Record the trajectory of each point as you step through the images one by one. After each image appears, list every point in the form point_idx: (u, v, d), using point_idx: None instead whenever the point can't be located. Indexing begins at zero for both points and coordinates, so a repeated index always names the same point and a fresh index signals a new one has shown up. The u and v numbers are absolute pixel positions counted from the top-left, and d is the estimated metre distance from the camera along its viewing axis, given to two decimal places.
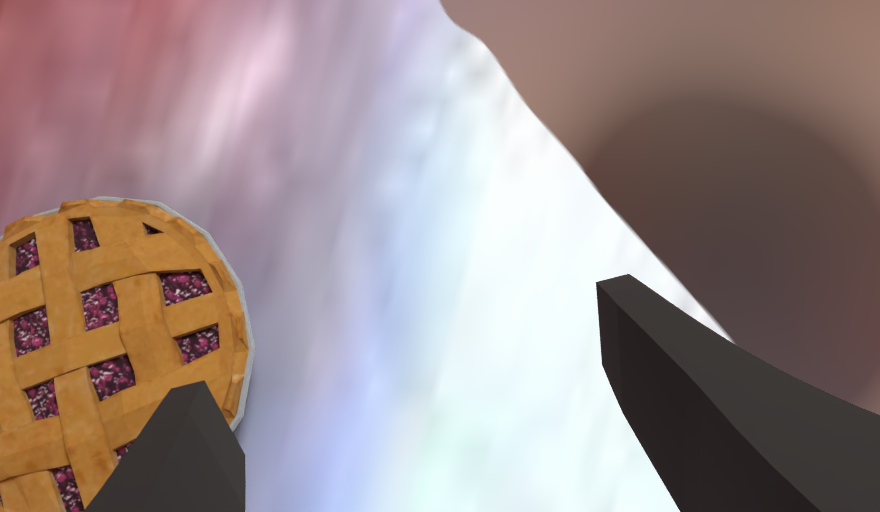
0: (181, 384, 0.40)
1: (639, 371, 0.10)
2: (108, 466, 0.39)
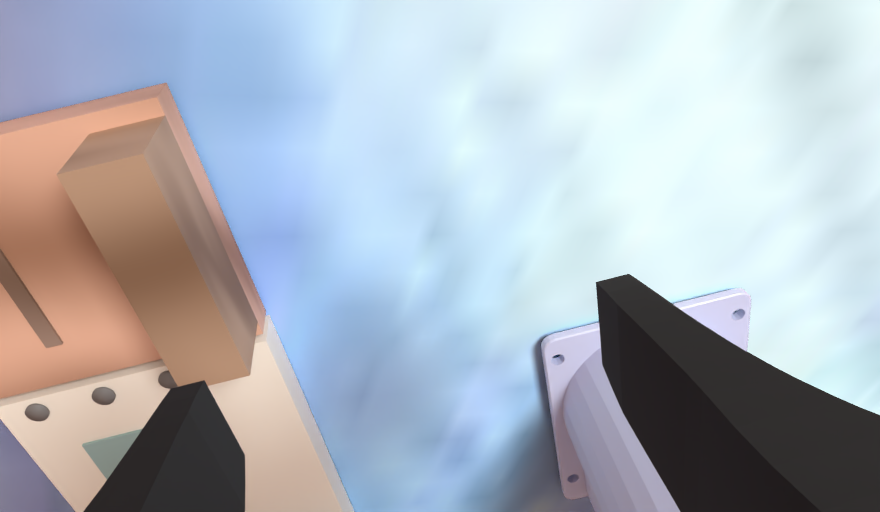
0: None
1: (639, 371, 0.10)
2: None
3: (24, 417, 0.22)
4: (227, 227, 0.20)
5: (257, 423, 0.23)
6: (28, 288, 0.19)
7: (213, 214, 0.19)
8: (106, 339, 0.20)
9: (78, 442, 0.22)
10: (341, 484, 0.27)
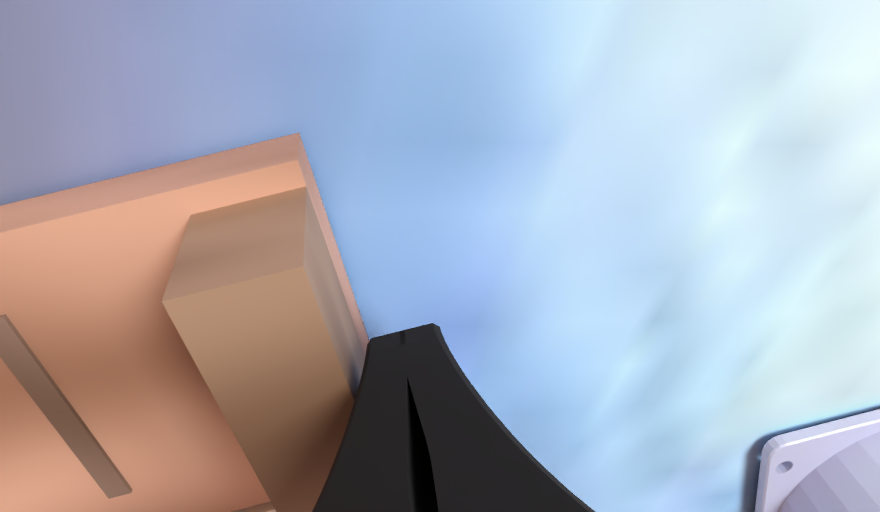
0: None
1: (422, 426, 0.10)
2: None
3: None
4: (363, 327, 0.14)
5: None
6: (87, 425, 0.13)
7: (354, 317, 0.13)
8: (191, 483, 0.15)
9: None
10: None
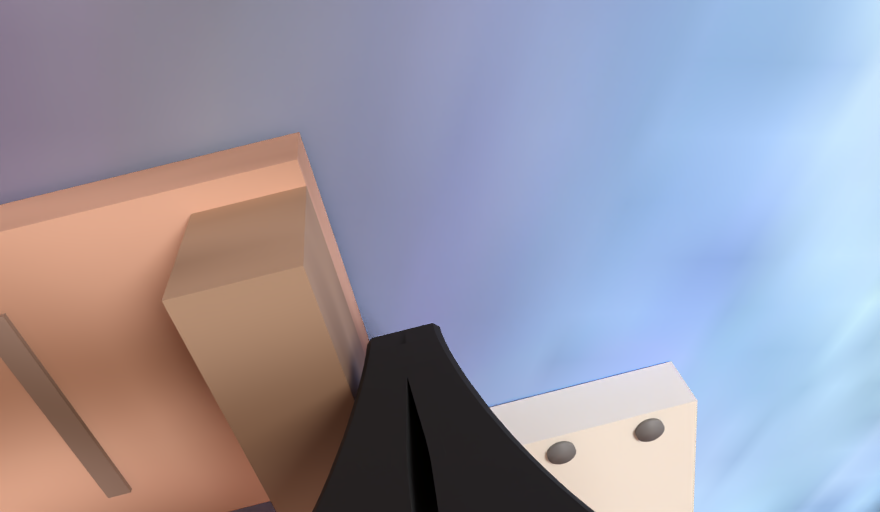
0: None
1: (422, 426, 0.10)
2: None
3: None
4: (363, 327, 0.14)
5: (640, 502, 0.18)
6: (87, 424, 0.13)
7: (354, 317, 0.13)
8: (191, 482, 0.15)
9: None
10: None
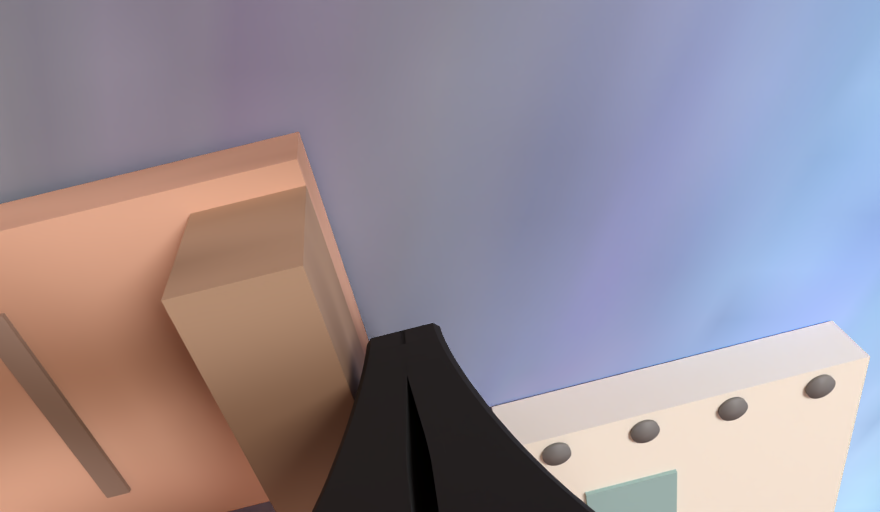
0: None
1: (422, 426, 0.10)
2: None
3: None
4: (362, 327, 0.14)
5: (795, 462, 0.18)
6: (86, 424, 0.13)
7: (354, 317, 0.13)
8: (190, 482, 0.15)
9: (581, 491, 0.17)
10: None
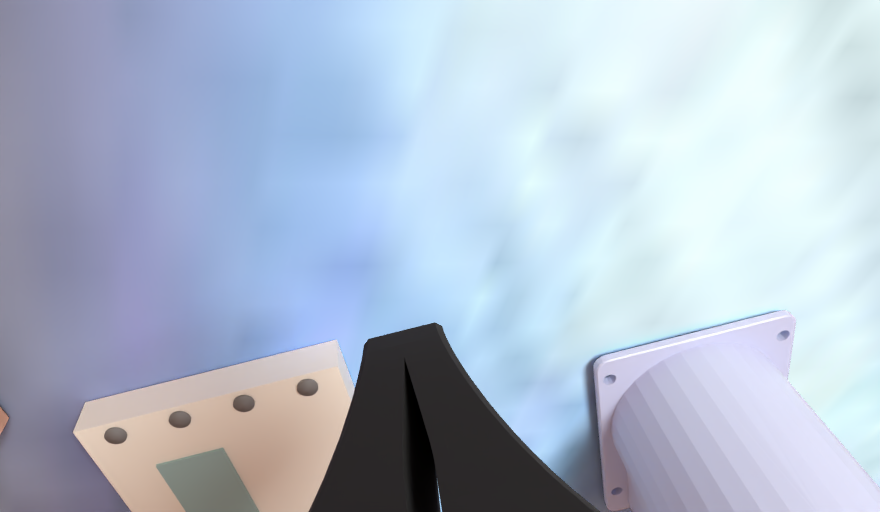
0: None
1: None
2: None
3: (103, 440, 0.22)
4: None
5: (323, 443, 0.24)
6: None
7: None
8: None
9: (152, 463, 0.23)
10: None
